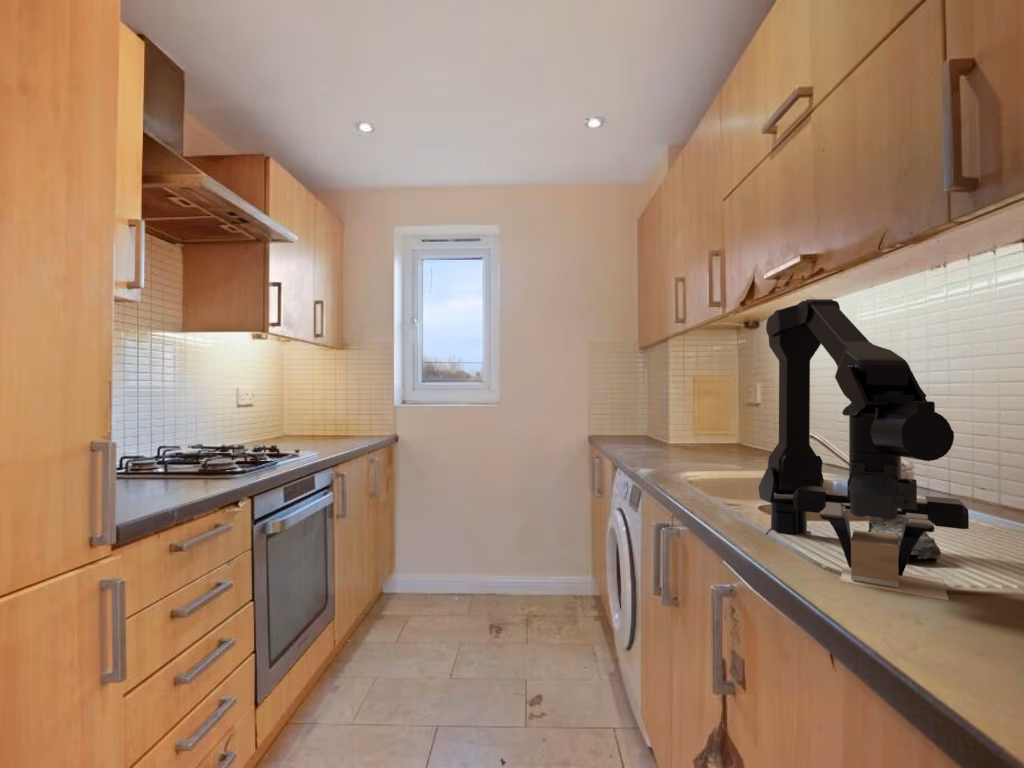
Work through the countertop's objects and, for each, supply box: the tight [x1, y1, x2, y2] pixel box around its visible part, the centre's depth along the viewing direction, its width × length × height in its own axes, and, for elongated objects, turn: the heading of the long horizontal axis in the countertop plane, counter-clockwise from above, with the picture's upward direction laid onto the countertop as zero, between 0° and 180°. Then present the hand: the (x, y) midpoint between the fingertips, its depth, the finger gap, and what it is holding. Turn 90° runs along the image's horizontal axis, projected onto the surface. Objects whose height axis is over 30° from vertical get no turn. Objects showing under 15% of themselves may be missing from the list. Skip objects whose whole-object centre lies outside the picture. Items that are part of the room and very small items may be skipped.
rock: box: [867, 515, 942, 562], centre depth 85 cm, size 13×9×6 cm, turn 164°
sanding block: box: [851, 529, 899, 587], centre depth 73 cm, size 7×5×5 cm
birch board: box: [839, 563, 949, 601], centre depth 72 cm, size 9×11×1 cm
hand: (875, 571), depth 73 cm, fingers closed on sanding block, 5 cm apart
